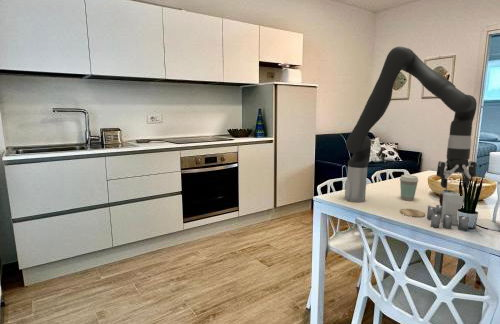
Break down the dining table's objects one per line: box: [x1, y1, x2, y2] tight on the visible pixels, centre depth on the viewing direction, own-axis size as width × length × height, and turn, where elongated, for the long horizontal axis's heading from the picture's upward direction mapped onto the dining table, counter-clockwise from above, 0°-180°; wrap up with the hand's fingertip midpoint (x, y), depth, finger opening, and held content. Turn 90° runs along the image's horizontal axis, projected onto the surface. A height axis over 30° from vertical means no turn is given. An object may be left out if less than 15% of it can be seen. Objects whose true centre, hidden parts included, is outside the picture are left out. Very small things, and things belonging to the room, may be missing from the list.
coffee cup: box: [399, 174, 419, 202], centre depth 159 cm, size 8×8×12 cm
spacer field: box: [426, 204, 478, 232], centre depth 126 cm, size 20×17×5 cm
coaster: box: [399, 208, 426, 218], centre depth 138 cm, size 10×10×1 cm
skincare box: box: [440, 193, 465, 226], centre depth 126 cm, size 6×4×12 cm
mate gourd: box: [439, 187, 458, 205], centre depth 146 cm, size 8×8×15 cm
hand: (454, 187), depth 124 cm, fingers open, 8 cm apart
